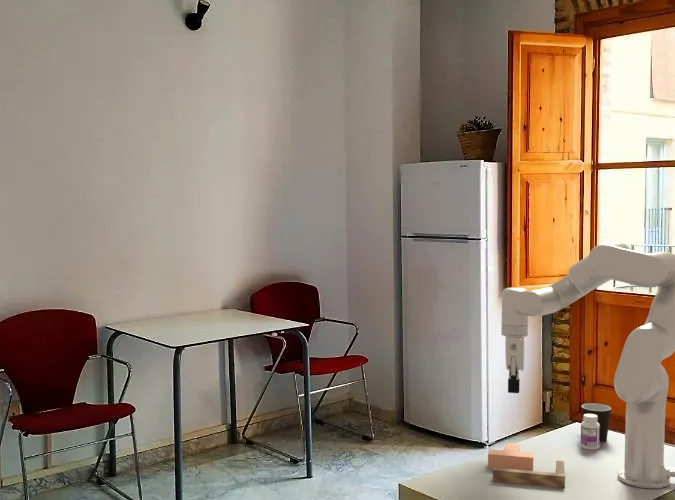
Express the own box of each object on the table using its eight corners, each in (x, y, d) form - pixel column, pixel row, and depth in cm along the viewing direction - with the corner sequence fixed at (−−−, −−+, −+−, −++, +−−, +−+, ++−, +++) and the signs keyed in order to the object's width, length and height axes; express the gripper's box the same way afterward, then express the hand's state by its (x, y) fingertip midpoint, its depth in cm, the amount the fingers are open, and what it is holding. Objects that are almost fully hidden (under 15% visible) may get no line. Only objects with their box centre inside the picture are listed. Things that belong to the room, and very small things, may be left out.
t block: (533, 459, 217) (533, 445, 216) (533, 472, 207) (533, 457, 207) (490, 456, 220) (490, 442, 220) (487, 468, 210) (487, 454, 210)
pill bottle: (586, 443, 232) (587, 411, 231) (602, 447, 228) (603, 415, 227) (577, 447, 228) (577, 415, 228) (593, 451, 224) (594, 418, 224)
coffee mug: (612, 444, 231) (613, 411, 230) (582, 442, 232) (583, 410, 232) (606, 433, 242) (607, 401, 241) (578, 431, 244) (579, 400, 243)
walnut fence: (563, 472, 207) (563, 461, 207) (564, 488, 195) (565, 476, 195) (495, 466, 212) (495, 455, 211) (492, 481, 200) (492, 470, 200)
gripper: (527, 335, 216) (526, 399, 217) (528, 326, 230) (527, 387, 231) (499, 333, 218) (499, 397, 219) (502, 325, 232) (501, 385, 233)
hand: (513, 392), depth 225 cm, fingers closed
